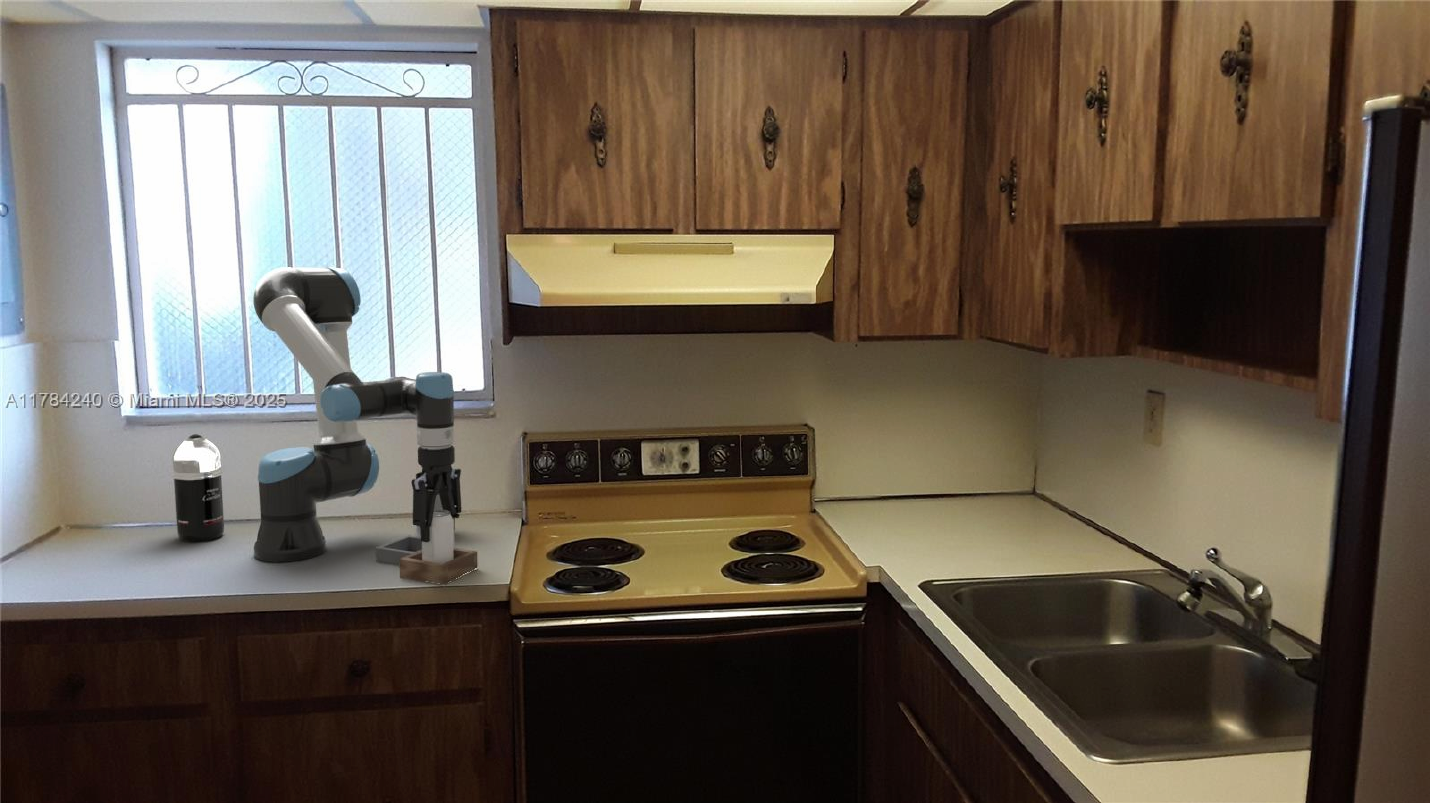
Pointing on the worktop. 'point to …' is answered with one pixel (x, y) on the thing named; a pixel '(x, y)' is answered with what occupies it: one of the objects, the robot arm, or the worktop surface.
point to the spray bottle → (198, 490)
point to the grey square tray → (398, 549)
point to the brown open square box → (438, 567)
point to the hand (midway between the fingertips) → (438, 551)
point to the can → (442, 537)
